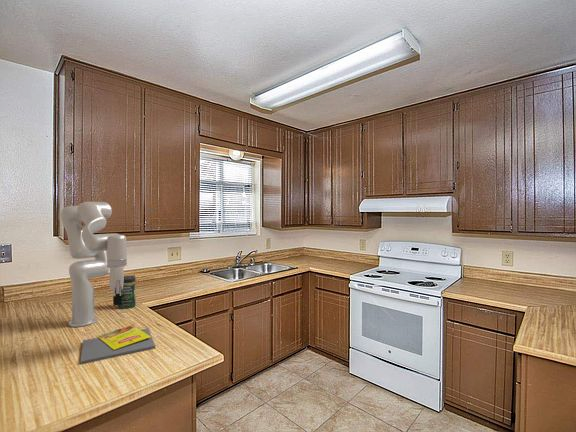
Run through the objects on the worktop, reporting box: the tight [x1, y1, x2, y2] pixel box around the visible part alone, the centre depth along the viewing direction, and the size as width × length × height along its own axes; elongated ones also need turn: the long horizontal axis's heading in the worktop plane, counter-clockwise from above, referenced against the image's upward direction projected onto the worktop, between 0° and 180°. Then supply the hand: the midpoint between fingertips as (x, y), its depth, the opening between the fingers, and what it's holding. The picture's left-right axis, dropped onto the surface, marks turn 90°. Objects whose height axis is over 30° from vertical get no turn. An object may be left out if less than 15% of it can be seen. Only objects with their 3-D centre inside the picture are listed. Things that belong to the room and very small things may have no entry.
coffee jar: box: [117, 274, 137, 309], centre depth 183 cm, size 10×8×19 cm
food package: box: [96, 324, 152, 350], centre depth 137 cm, size 15×1×20 cm
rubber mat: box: [80, 328, 156, 365], centre depth 132 cm, size 22×26×1 cm
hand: (117, 304), depth 136 cm, fingers closed
